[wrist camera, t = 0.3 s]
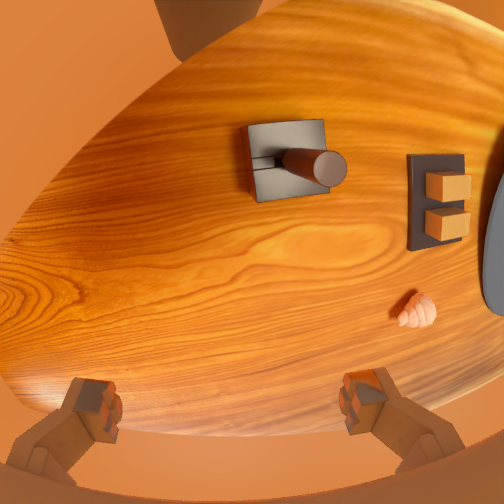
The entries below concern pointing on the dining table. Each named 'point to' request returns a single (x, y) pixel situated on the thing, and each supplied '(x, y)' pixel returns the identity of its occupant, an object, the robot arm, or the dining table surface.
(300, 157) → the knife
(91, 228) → the dining table surface
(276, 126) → the brown slotted box
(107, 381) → the robot arm
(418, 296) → the peach ridged curved piece
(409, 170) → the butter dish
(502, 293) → the serving platter
